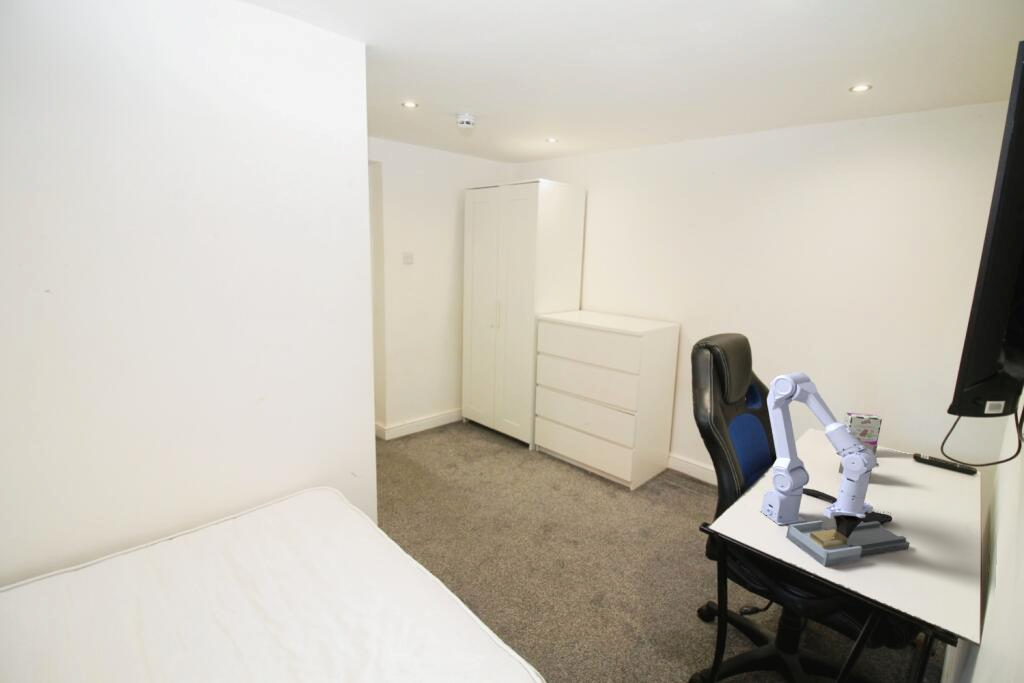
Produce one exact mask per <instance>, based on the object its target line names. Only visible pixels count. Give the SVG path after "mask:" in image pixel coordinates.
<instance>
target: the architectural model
mask: <svg viewBox="0 0 1024 683" xmlns="http://www.w3.org/2000/svg"><path fill="white" fill-rule="evenodd" d="M857 439H858V441H859V442H860V444H861V445H864V446H865V448H867V449H869V450H871V451H872V452H874V455H875V456H876V453H877V448H878V443H877V444H875V445H871V444H868V443H865V442H862V441H860V438H858V437H857ZM835 456H836V457H837V458H839V459H841V458H842V457H841V456H840V454H839V453H838V452H836V453H835ZM874 468H880V465H879V463H878V462H877V464H876V466H875V467H874ZM843 470H844V468H843V466H842V464H841V462H840V463H839V468H838V473H839V474H841V475H842V474H843ZM869 471H871V473H870V477H869V481H870V479H871V475H872V471H873V469H871V470H869Z"/></svg>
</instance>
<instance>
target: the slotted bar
mask: <svg viewBox="0 0 1024 683" xmlns="http://www.w3.org/2000/svg"><path fill="white" fill-rule="evenodd" d="M823 529H824V530H831V529H835V530H836V531H837V528H836V526H833V527H826V528H823ZM846 545H848V546H849V547H856V546H861V547H862V550H861V555H860V558H865V557H871V556H876V555H882V554H888V553H889V554H890V553H894V552H895V553H896V552H899V551H900V552H901V551H905V550H909V548H910V542H909V541H908V540H907V537H905V536H904V535H900V536H899V535H897V534H895V533H893V532H892V531H890V530H888V529H887V528H885V527H884V526H882V524H881V523H880V522H878V521H874V522H866V523H864V522H861V523H860V524H858V525H857V526H856V527H855V529H854V530H853V532H852V533H851V535H850V536H849V538H848V539H847V544H846Z"/></svg>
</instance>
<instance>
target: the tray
mask: <svg viewBox="0 0 1024 683" xmlns="http://www.w3.org/2000/svg"><path fill="white" fill-rule="evenodd" d="M787 525H788V526H787V532H786V536H785V538H786V539H787V538H788V540H789V541H790V542H792V543H793V544H794V545H796V547H798V548H799V549H800V550H802V551H804V552H805V553H806V554H807V555H809V556H810V557H811V558H812V559H814V560H815V561H816V562H818V563H819V564H820V565H822V566H823V567H825V568H826V567H830V566H831V567H832V566H837V565H841V564H848V563H853V562H859V561H860V558H861V557H860V555H861V550H862V547H861V546H856V547H849V546H848V545H841V546H835V547H829V548H822V547H821V546H819V545H818V544H817V543H815V542H814V541H812V540H811V539H810V534H811V532H818V531H825V530H824V528H823V525H824V521H823V520H814V521H808V522H799V523H792V524H787Z"/></svg>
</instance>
